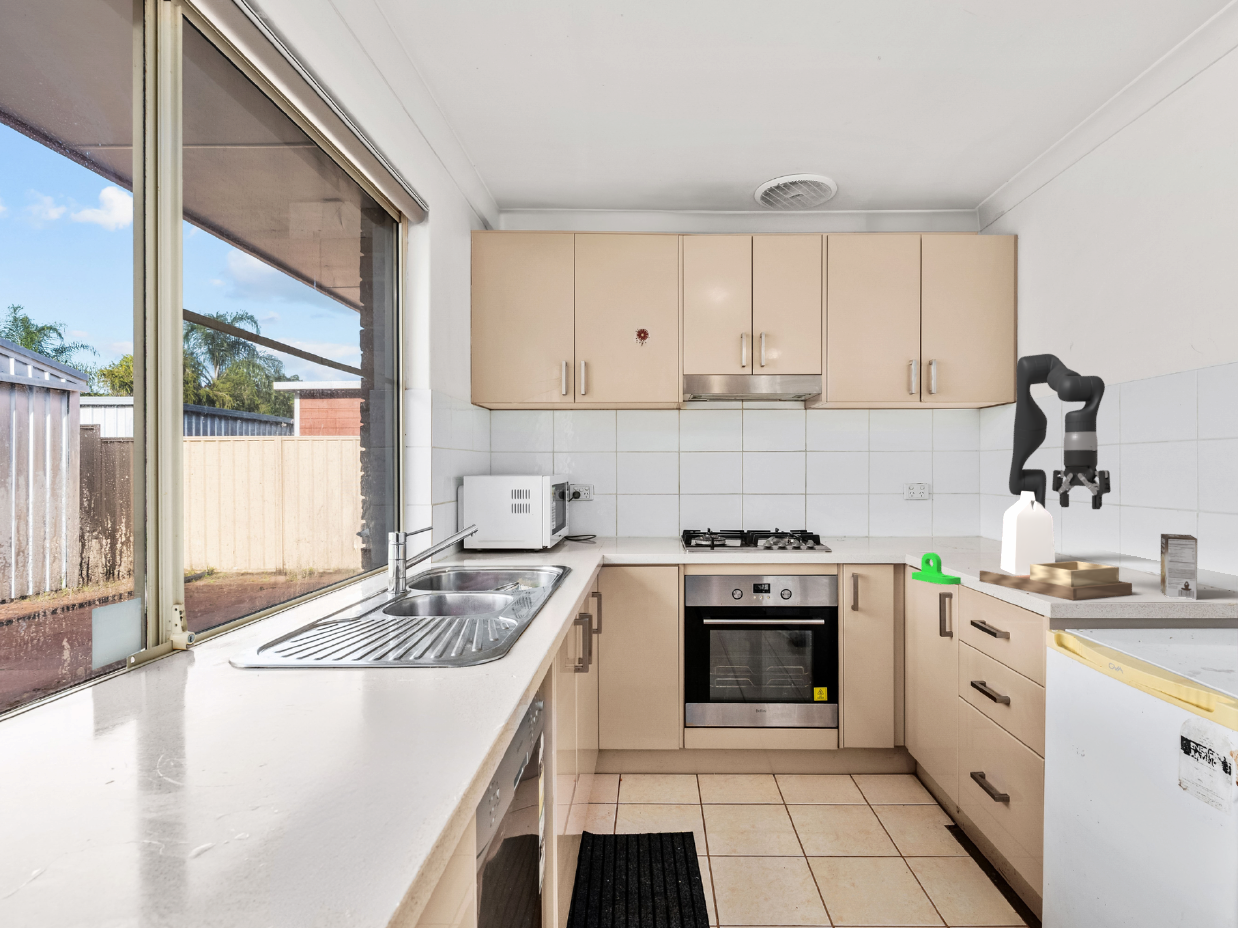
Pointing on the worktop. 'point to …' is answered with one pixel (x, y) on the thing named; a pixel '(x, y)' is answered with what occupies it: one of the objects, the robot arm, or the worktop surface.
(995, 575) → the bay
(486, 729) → the worktop surface
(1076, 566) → the crate
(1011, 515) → the milk
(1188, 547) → the coffee box
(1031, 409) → the robot arm
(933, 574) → the mechanical part
